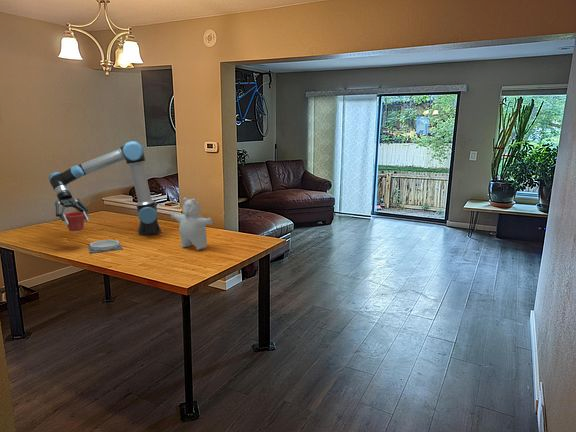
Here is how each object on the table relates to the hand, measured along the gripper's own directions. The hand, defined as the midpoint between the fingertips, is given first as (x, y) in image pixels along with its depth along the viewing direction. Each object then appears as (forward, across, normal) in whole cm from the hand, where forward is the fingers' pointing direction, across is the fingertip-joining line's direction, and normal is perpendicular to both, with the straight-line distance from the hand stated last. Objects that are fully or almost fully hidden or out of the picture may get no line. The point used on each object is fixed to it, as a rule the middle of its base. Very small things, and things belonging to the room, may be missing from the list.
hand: (77, 222), depth 237 cm
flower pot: (+1, 0, -6) cm, 6 cm away
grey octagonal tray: (+17, -12, -7) cm, 22 cm away
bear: (+45, -47, +20) cm, 68 cm away
